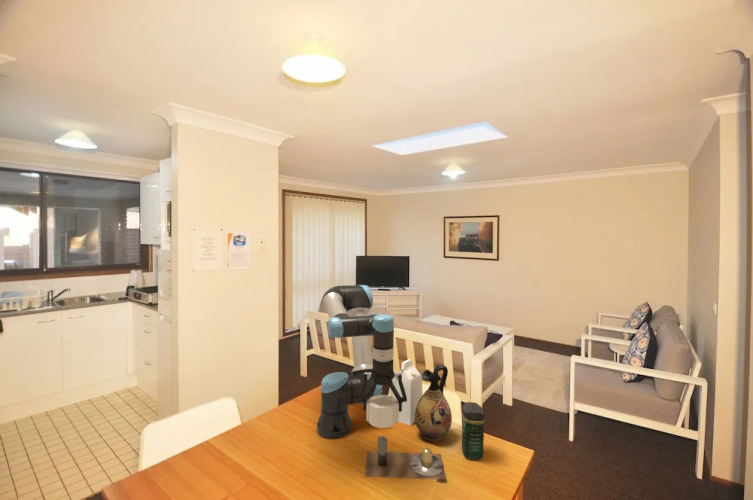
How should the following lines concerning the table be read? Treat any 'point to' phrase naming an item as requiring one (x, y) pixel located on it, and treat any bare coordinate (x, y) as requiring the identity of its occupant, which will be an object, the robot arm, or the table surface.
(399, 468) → the board
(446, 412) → the ceramic jug
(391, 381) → the robot arm
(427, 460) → the hub
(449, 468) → the table surface
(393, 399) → the ring
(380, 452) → the stand rod
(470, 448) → the coffee jar
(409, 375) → the milk
